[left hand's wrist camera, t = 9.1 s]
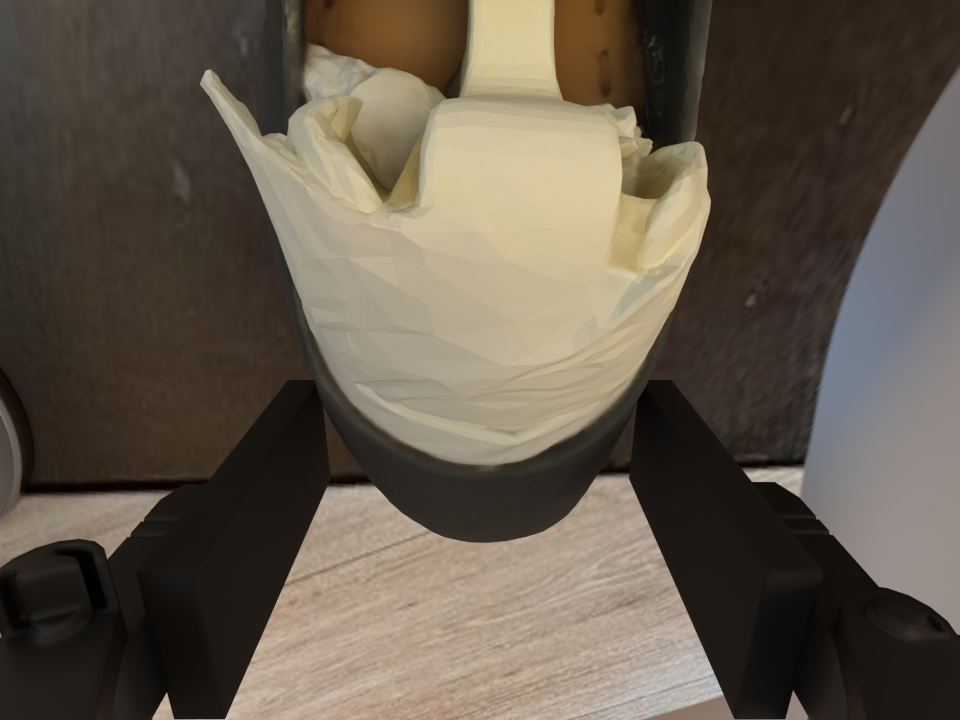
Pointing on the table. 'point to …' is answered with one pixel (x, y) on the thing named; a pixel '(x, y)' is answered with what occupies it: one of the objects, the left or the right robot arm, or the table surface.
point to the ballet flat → (479, 232)
